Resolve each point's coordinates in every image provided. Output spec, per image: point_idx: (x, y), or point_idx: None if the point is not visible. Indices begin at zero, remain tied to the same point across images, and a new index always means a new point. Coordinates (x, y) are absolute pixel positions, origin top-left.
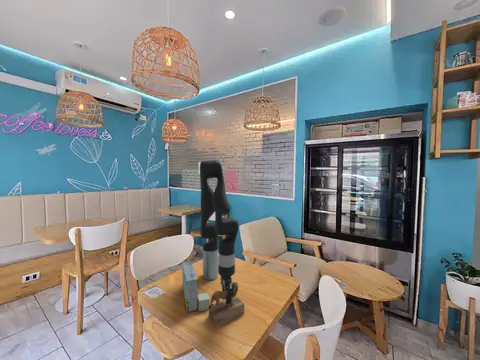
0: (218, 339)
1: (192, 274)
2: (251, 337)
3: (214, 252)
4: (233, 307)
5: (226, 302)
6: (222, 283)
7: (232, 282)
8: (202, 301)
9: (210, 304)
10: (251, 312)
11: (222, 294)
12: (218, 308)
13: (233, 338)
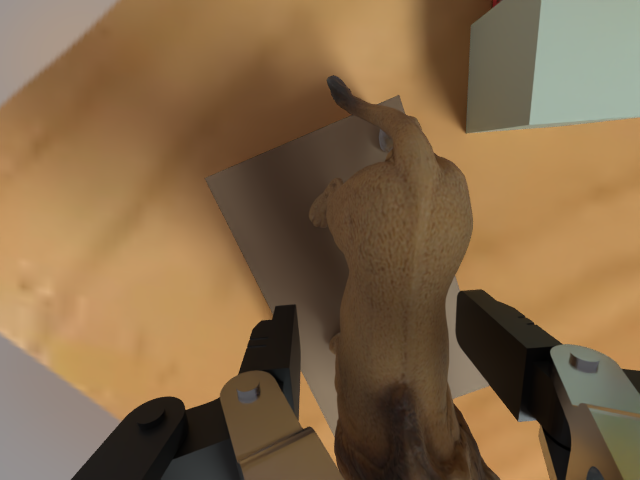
0: (99, 154)
1: None
2: (98, 365)
3: None
4: (302, 345)
5: (273, 316)
6: (595, 450)
7: None
8: (527, 30)
9: (357, 105)
10: (323, 419)
11: (352, 314)
12: (314, 202)
13: (99, 259)
